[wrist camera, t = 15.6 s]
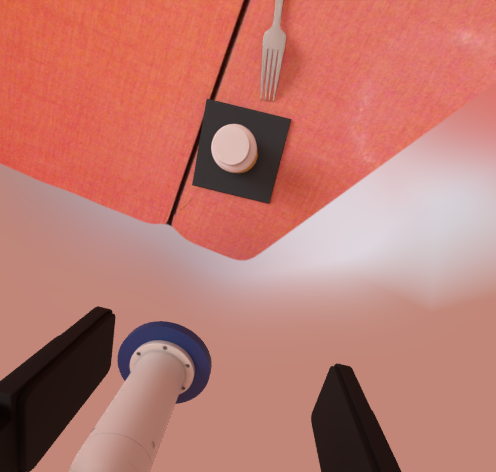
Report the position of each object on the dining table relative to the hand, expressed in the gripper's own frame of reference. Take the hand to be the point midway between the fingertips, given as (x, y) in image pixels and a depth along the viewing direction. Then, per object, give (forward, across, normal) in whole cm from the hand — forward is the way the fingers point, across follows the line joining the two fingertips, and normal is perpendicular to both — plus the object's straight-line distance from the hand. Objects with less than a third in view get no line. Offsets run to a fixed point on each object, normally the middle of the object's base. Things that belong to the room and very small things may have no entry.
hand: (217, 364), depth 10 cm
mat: (+28, +4, -10) cm, 30 cm away
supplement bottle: (+28, +4, -10) cm, 30 cm away
